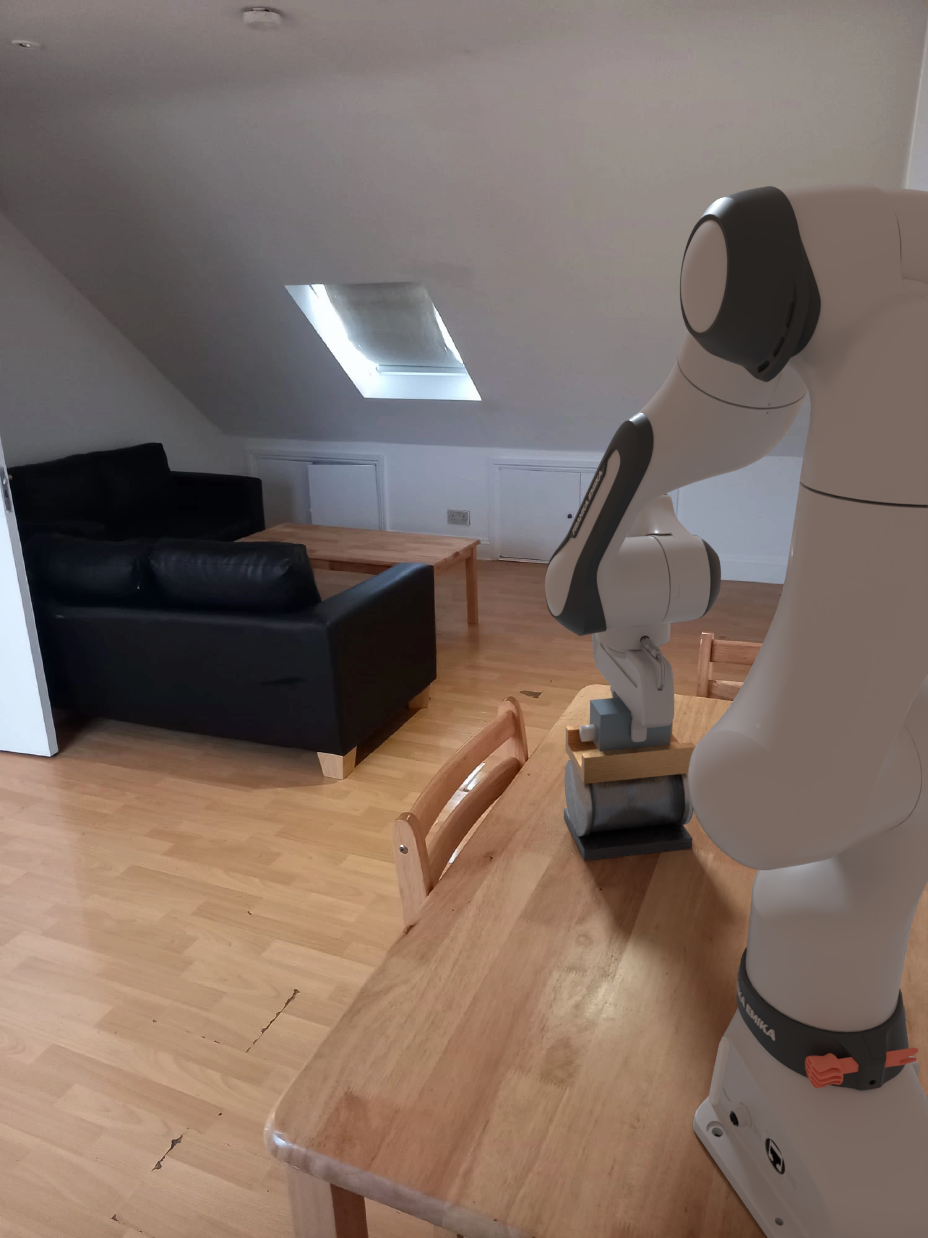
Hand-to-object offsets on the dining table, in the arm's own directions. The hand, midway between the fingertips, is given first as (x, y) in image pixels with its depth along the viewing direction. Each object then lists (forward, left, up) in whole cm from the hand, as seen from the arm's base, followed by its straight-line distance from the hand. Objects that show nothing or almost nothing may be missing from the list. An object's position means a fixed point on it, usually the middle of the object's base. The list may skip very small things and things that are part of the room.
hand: (629, 728), depth 106 cm
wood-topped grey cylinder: (0, 0, -15) cm, 15 cm away
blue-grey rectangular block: (0, 0, -2) cm, 2 cm away
